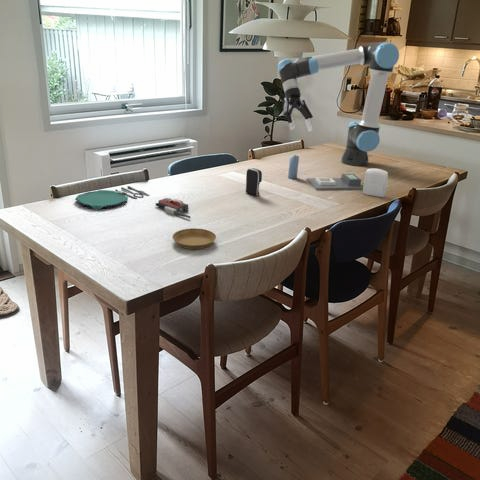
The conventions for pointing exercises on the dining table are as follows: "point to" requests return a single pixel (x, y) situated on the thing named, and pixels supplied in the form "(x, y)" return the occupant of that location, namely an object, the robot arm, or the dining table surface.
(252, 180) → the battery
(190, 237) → the plant saucer
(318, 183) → the cell checker
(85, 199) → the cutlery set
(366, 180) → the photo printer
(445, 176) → the dining table surface
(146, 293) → the dining table surface
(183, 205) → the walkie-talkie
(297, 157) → the cell
